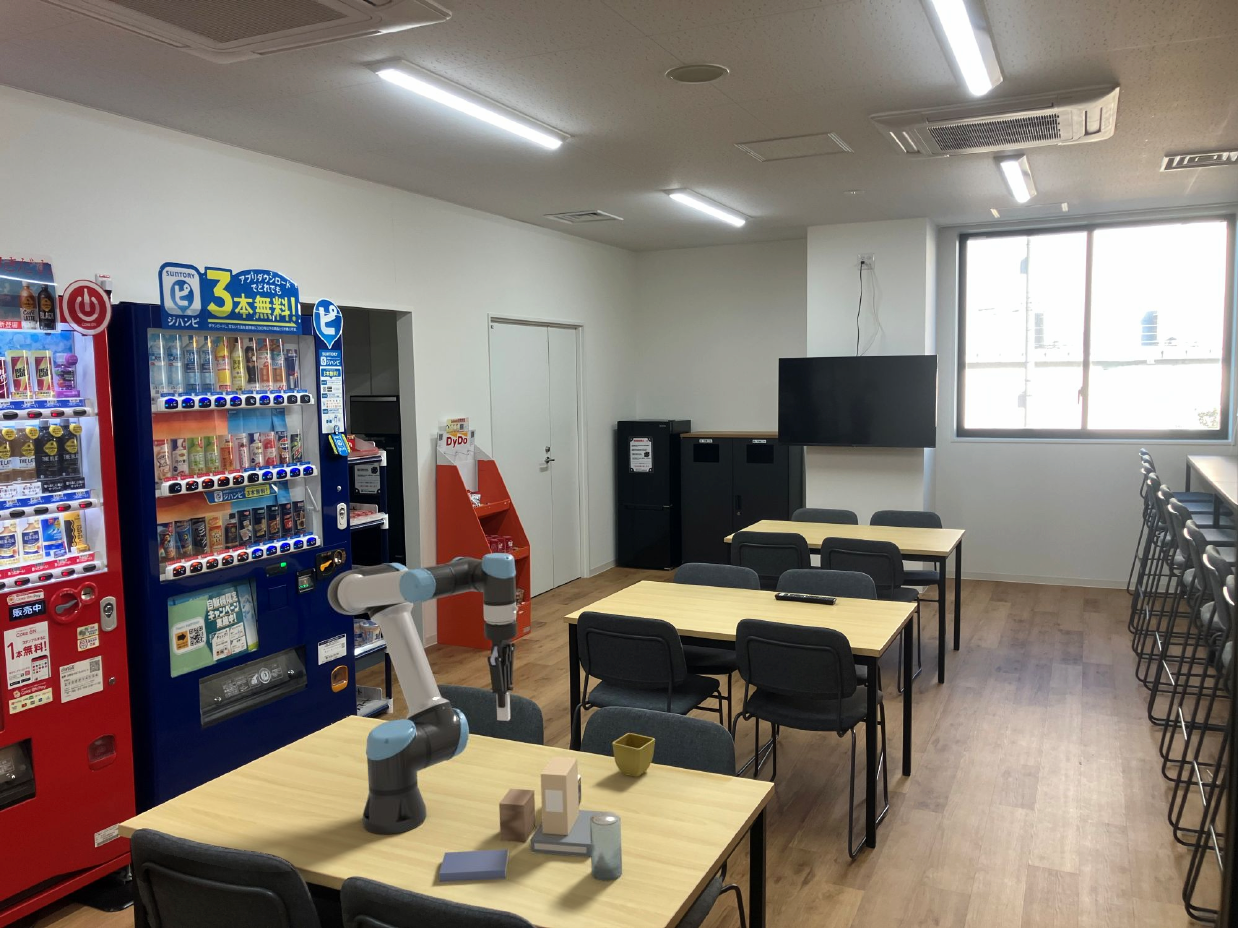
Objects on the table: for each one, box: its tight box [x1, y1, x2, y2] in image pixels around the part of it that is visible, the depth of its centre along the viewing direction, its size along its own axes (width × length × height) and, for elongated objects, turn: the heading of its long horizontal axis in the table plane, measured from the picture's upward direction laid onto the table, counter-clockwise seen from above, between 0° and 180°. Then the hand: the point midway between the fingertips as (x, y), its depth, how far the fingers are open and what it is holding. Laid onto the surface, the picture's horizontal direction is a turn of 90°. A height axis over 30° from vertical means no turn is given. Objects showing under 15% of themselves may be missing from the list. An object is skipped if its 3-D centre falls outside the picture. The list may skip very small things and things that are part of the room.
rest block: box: [498, 788, 536, 844], centre depth 216 cm, size 6×8×9 cm
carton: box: [540, 756, 580, 835], centre depth 214 cm, size 6×10×14 cm, turn 168°
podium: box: [529, 809, 603, 858], centre depth 214 cm, size 14×16×3 cm
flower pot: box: [611, 732, 656, 778], centre depth 249 cm, size 9×9×9 cm
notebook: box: [438, 848, 509, 883], centre depth 201 cm, size 14×9×2 cm, turn 93°
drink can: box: [590, 811, 623, 882], centre depth 197 cm, size 7×7×12 cm
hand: (503, 719), depth 215 cm, fingers closed
